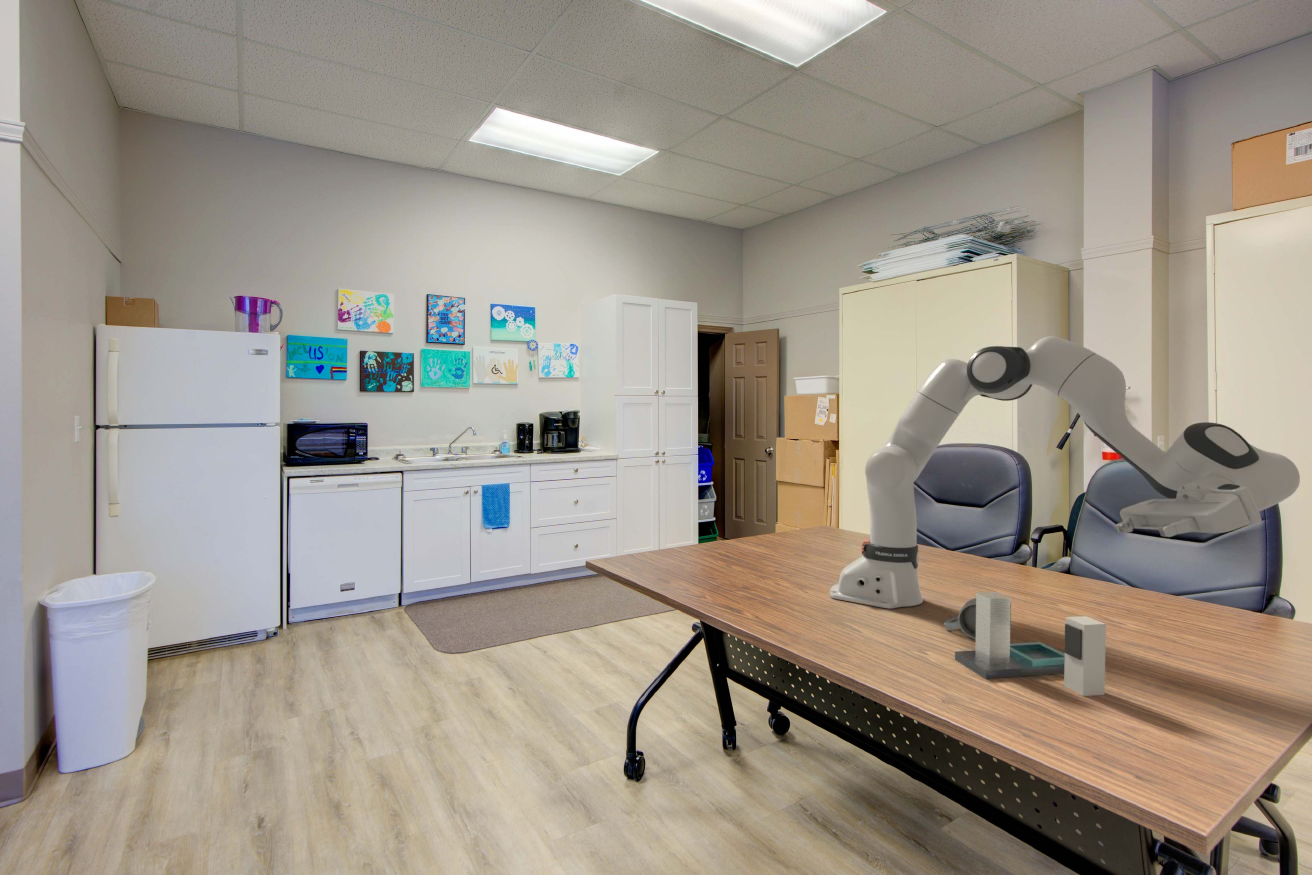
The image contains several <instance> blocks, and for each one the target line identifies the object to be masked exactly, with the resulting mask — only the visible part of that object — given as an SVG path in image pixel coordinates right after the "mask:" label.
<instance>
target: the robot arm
mask: <svg viewBox="0 0 1312 875" xmlns="http://www.w3.org/2000/svg"><path fill="white" fill-rule="evenodd" d="M1126 384H1127V383H1126V379H1125V376H1124V374H1123V371H1122V370H1121V369H1120V368H1119V367H1118V366H1117V365H1115V363H1113V362H1112V361H1110V360H1109V359H1107V358H1105V357H1103V356H1101V355H1100V354H1098V353H1096V352H1094V351H1092V350H1091V349H1089V348H1087V347H1085V346H1083V345H1080V344H1078V343H1076V342H1074V341H1070V340H1068V339H1065V338H1062V337H1059V336H1056V335H1049V336H1045V337H1042V338H1041V339H1038V340H1037V341H1036V342H1034V344H1032V345H1031V346H1030V347H1029V348H1028V349H1027V350H1025V349H1024V348H1023V347H1020V346H1005V345H1003V346H1002V345H1001V346H1000V345H994V346H993V345H992V346H986V347H983V348H981V349H979V350H977V351H976V352H974V353H973V355H971V357H970V358H969V360H968V362H966V361H963V360H960V359H955V358H950V359H945V360H943V361H941V363H940V364H939V365H937V366H936V368H935V369H934V370H933V371H932V372H931V373H930V374H929V376H927V378H925V381H923V383H922V384H921V386H920V387H919V388H918V390H917V391H916V393H915V394H914V396H913V397H912V399H911V400H910V401H909V403H908V405H907V406H906V408H905V409H904V411H903V413H902V414H901V415H900V417H899V419H898V421H897V424H896V425H895V427H894V429H893V431H892V433H891V435H890V436H889V438H888V440H887V441H886V443H885V445H884V446H883V447H882V448H879V449H877V450H875V451H874V452H873V453H871V455H870V456H869V457H868V459H867V460H866V464H865V468H864V469H865V470H864V472H865V478H866V479H865V480H866V487H867V488H866V489H867V498H868V504H869V515H870V516H869V518H870V519H869V524H870V526H869V539H870V540H868V539H867V540H866V539H865V540H864V541H863V542H862V544H861V556H860V557H858V558H856V559H855V560H853V561H852V562H851V563H849V564H848V565H846V566H845V567H844V568H842V570H841V572H840V575H839V580H838V582H837V583H836V584H834V585H832V586H831V588H830V589H829V595H830V597H831V598H833V599H835V600H841V601H846V602H852V603H857V604H862V605H867V606H873V607H877V608H882V609H883V608H884V609H896V608H902V607H913V606H919V605H920V604H922V603H923V602H924V599H923V597H922V594H921V589H920V583H919V582H920V581H919V576H918V567H919V562H920V561H919V558H920V556H919V555H920V554H919V553H920V552H919V546H918V544H917V528H918V527H917V526H918V524H917V523H918V522H917V518H918V517H917V515H918V514H917V508H916V500H915V485H914V484H915V481H916V480H917V479H918V477H919V476H920V474H921V473H922V471H923V470H924V469H925V467H926V465H927V463H928V462H929V461H930V459H931V457H932V456H933V455H934V453H935V451H936V449H937V448H938V446H939V444H941V442H942V440H943V438H944V437H945V436H946V434H947V433H948V431H949V430H950V428H951V427H952V426H953V424H954V423H955V421H956V420H957V418H958V417H959V416H960V415H961V413H962V412H963V410H964V408H965V407H966V405H967V404H969V402H970V401H971V400H972V399H973V398H974V397H977V396H981V397H982V398H983V397H984V398H988V399H993V400H997V401H1001V402H1002V401H1003V402H1006V401H1007V402H1008V401H1016V400H1019V399H1022V397H1024V396H1025V395H1027V394H1028V393H1029V391H1030V390H1031V388H1032V387H1033V386H1034V385H1037V386H1040V387H1043V388H1045V389H1046V390H1048V391H1050V392H1051V393H1053V394H1054V395H1055V396H1058V397H1059V398H1061V399H1062V400H1064V401H1065V402H1066V403H1067V404H1069V405H1070V406H1071V407H1072V409H1074V410H1075V411H1076V412H1077V414H1079V416H1080V417H1081V418H1082V420H1083V422H1084V425H1085V427H1087V429H1088V430H1089V431H1090V432H1091V433H1092V434H1093V435H1094V436H1095V437H1097V438H1098V440H1100V441H1101V442H1102V443H1104V444H1105V445H1106V446H1107V447H1108V448H1109V449H1111V450H1112V451H1113V452H1114V453H1116V454H1117V455H1118V456H1119V457H1120V458H1122V459H1123V460H1124V461H1126V463H1128V464H1129V465H1130V466H1132V467H1133V468H1134V469H1135V470H1136V471H1138V473H1140V474H1141V476H1143V478H1144V479H1145V480H1146V481H1147V482H1148V484H1150V486H1151V487H1152V488H1153V489H1154V490H1155V491H1156V492H1157V493H1158V494H1159V495H1161V496H1162V497H1165V498H1153V499H1148V500H1144V501H1141V502H1138V503H1135V504H1133V505H1130V506H1127V507H1126V506H1125V507H1124V508H1122V509H1121V510H1120V511H1119V517H1120V518H1121V521H1122V522H1119V523H1116V524H1115V528H1116V530H1117V533H1118V534H1126V535H1127V534H1128V533H1132V532H1133V531H1134V529H1141V530H1158V532H1159V535H1160V536H1161V537H1164V538H1165V537H1166V538H1171V537H1174V536H1177V535H1181V534H1186V533H1205V534H1221V533H1226V532H1227V533H1228V532H1231V531H1234V530H1237V529H1241V528H1243V527H1245V526H1254V525H1257V524H1260V523H1261V522H1262V517H1261V513H1260V512H1261V511H1264V510H1267V509H1269V508H1272V507H1273V506H1275V505H1277V504H1279V503H1281V502H1283V501H1285V500H1286V499H1288V498H1290V497H1291V496H1292V495H1293V494H1294V493H1296V491H1297V489H1298V488H1299V485H1300V482H1301V475H1300V471H1299V469H1298V467H1297V465H1296V464H1295V463H1294V462H1293V461H1292V460H1291V459H1290V458H1288V457H1287V456H1284V455H1282V454H1279V453H1275V452H1270V451H1266V450H1263V449H1260V448H1258V447H1256V446H1254V445H1253V444H1250V443H1249V442H1248V441H1247V440H1246V439H1245V438H1244V436H1242V434H1240V433H1239V432H1237V431H1236V430H1234V429H1233V428H1232V427H1230V426H1228V425H1224V424H1221V423H1217V422H1209V421H1207V422H1205V421H1204V422H1196V423H1192V424H1190V425H1189V426H1187V427H1186V428H1185V429H1184V431H1182V432H1181V434H1180V435H1179V436H1178V437H1177V438H1175V440H1174V441H1173V443H1172V444H1171V446H1170V447H1169V448H1168V450H1166V451H1165V450H1163V449H1162V448H1160V446H1158V445H1157V444H1156V443H1154V442H1153V441H1151V440H1150V439H1149V438H1148V437H1146V436H1145V435H1144V434H1143V433H1141V432H1140V431H1139V430H1138V429H1136V428H1135V427H1134V426H1133V425H1132V424H1131V423H1130V421H1129V419H1128V417H1127V413H1126V405H1125V401H1126V393H1127V385H1126Z"/></svg>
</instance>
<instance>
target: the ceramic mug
mask: <svg viewBox="0 0 1312 875" xmlns="http://www.w3.org/2000/svg"><path fill="white" fill-rule="evenodd" d="M943 624H944V627H945V629H946V630H947V631H949V632H951V631H957V630H961V631H962V632H963V634H965V635H966V636H967V637H969V638H971V639H973V640H976V597H974V598H972V599H969V600H968V601H966V602H965V604H964V605H963V606H962V607H961V609H960V610H959V611H958V615H957V617H953V618H950V619H948V620H946V621H945V622H944V623H943Z"/></svg>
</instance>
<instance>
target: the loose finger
mask: <svg viewBox="0 0 1312 875" xmlns="http://www.w3.org/2000/svg"><path fill="white" fill-rule="evenodd" d="M1106 628H1107V624H1106V623H1105V622H1102V621H1100V620H1096V619H1095V618H1092V617H1089V616H1086V615H1085V616H1084V615H1083V616H1082V615H1081V616H1067V617H1066V616H1065V623H1064V651H1063V652H1064V654H1065V666H1064V674H1063V676H1064V677H1063V678H1064V680H1063V687H1065V688H1068V689H1069V690H1071V691H1073V692H1075V693H1076V694H1078V695H1080V696H1081V697H1090V696H1091V697H1092V696H1104V695H1105V691H1106V690H1105V686H1106V683H1105V680H1106V640H1107V639H1106V638H1107V637H1106V635H1107V634H1106V633H1107V632H1106V631H1107V629H1106Z"/></svg>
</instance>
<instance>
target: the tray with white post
mask: <svg viewBox="0 0 1312 875" xmlns="http://www.w3.org/2000/svg"><path fill="white" fill-rule="evenodd" d="M975 594H976V595H975V598H976V639H975V649H974V650H959V651H954V660H956V661H957V662H958V663H960V664H962V665H964V666H965V667H966V668H968V669H969V670H971V671H972V672H975V673H976V674H978V675H979V676H981V677H982V678H984V679H986V680H987V679H988V680H990V679H991V680H992V679H1005V678H1017V677H1018V678H1019V677H1020V678H1021V677H1032V676H1033V677H1034V676H1035V677H1036V676H1050V675H1064V666H1065V653H1063V652H1061V651H1060V650H1058V649H1055V648H1054V647H1051V646H1050V645H1047V644H1045V643H1043V642H1041V641H1037V642H1034V641H1033V642H1020V643H1019V642H1017V643H1011V630H1012V629H1011V628H1012V626H1011V625H1012V623H1011V622H1012V621H1011V619H1012V601H1011V597H1009V596H1007V595H1004V594H1003V593H1000V592H998V591H989V592H988V591H987V592H986V591H985V592H983V591H982V592H976V593H975Z"/></svg>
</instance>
